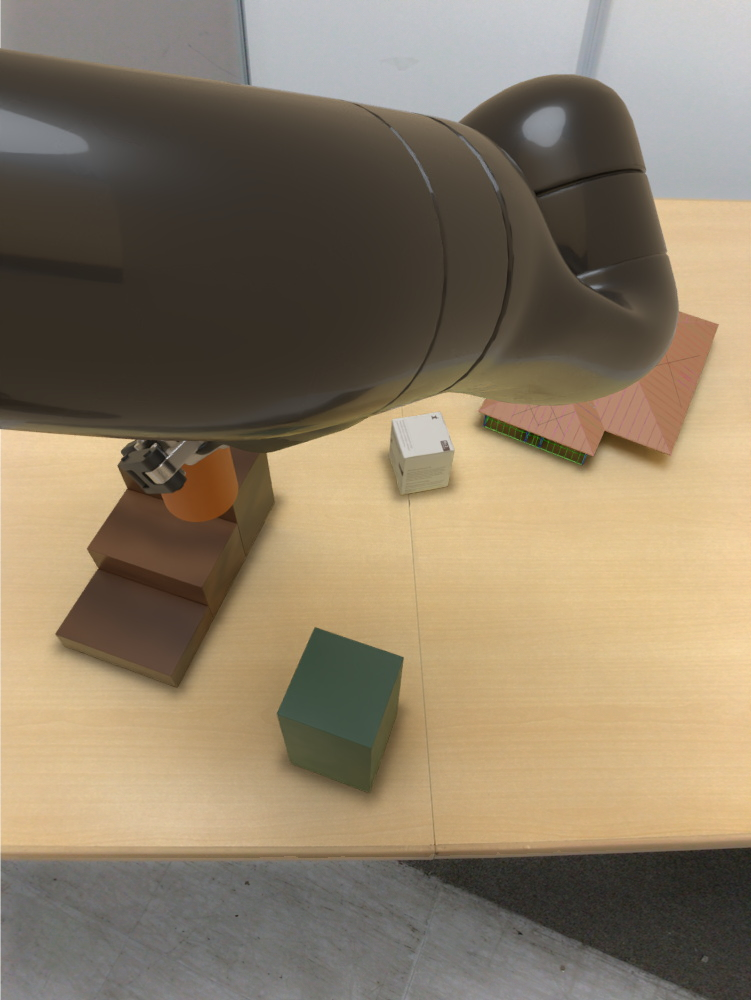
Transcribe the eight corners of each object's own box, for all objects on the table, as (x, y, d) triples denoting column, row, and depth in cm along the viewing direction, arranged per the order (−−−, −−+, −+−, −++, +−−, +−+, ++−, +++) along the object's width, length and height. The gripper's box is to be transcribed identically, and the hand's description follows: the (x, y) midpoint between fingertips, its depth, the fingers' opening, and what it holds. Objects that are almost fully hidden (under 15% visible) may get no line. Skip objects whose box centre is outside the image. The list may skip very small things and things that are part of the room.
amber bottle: (218, 533, 54) (192, 446, 46) (147, 510, 55) (110, 420, 47) (252, 473, 57) (234, 382, 49) (185, 452, 58) (156, 359, 50)
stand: (369, 793, 69) (371, 748, 57) (290, 763, 70) (276, 714, 58) (397, 713, 73) (404, 656, 61) (321, 686, 74) (314, 626, 63)
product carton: (388, 457, 91) (390, 417, 85) (435, 449, 92) (440, 409, 86) (400, 496, 88) (403, 458, 82) (449, 487, 89) (456, 449, 83)
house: (714, 330, 105) (738, 283, 98) (651, 498, 88) (675, 456, 82) (560, 279, 111) (573, 232, 104) (474, 428, 94) (483, 383, 87)
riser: (177, 687, 74) (151, 642, 65) (64, 646, 76) (24, 597, 67) (275, 502, 87) (265, 442, 78) (176, 471, 89) (155, 410, 80)
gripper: (324, 235, 41) (191, 325, 54) (153, 403, 33) (47, 460, 46) (404, 342, 43) (259, 402, 56) (263, 518, 36) (135, 541, 49)
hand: (164, 428), depth 51 cm, fingers closed on amber bottle, 5 cm apart
